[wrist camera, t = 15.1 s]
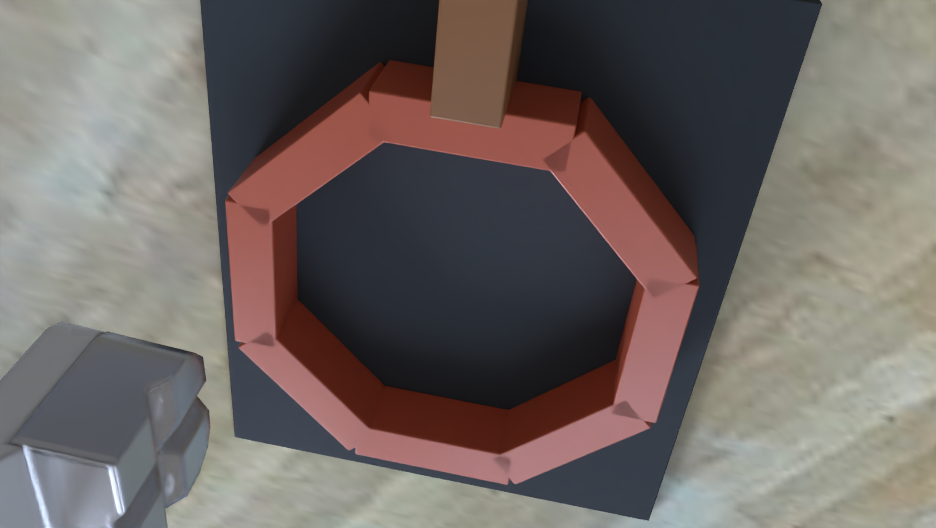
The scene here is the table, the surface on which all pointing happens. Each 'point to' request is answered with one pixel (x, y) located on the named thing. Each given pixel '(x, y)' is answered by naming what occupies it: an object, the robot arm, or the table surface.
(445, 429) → the hoop
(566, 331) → the mat
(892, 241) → the table surface
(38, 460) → the robot arm
